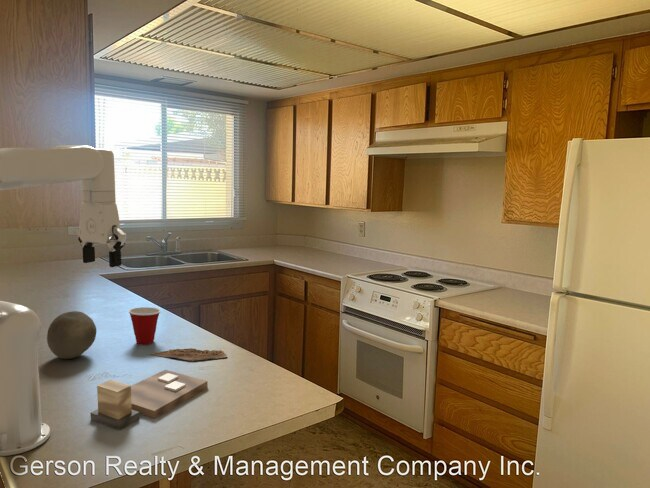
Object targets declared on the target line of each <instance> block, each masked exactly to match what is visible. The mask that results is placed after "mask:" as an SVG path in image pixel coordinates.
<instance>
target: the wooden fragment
mask: <svg viewBox="0 0 650 488" xmlns="http://www.w3.org/2000/svg"><path fill="white" fill-rule="evenodd" d="M150 356H154V357H155V356H157V357H163V358H172V359H178V360H184V361H190V362H195V361H204V360H214V359H223V358H228V356H227V354H226V353H225V351H223V350H221V349H220V350H215V349H214V350H209V349H206V350H205V349H204V350H202V349H197V348H176V349H175V348H174V349H169V350H164V351H160V352H155V353H150Z"/></svg>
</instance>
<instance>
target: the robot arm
mask: <svg viewBox="0 0 650 488" xmlns="http://www.w3.org/2000/svg"><path fill="white" fill-rule="evenodd" d="M115 173H116V171H115V154H114V153H113V150H111V149H110V148H109V149H108V148H98V147H95V148H94V147H92V146H90V145H56V146H53V147H50V148H30V147H29V148H28V147H27V148H26V147H2V148H0V191H6V190H13V189H22V188H23V189H24V188H33V187H39V186H46V185H53V184H54V185H55V184H64V183H71V182H78V181H81V185H82V188H81V189H82V202H81V206H80V211H79V226H78V228H76V230H75V232H76V235H77V237H78V238H77V240H78V242H79V243H80V248H82V263H84V264H87V263H88V264H89V263H94V262H95V261H96V251H95V249H96V247H95V246H93V245H94V244H98V245H100V244H101V245H103V244H106V245H107V247H108V249H109V250H110V251H108V261H109V262H108V263H109V264H108V265H109V268H115V267H116V268H117V267H121V265H122V251H123V250H124V249H123V248H124V246H125V244H126V241H127V238H128V234H127V233H126V232H124V231H123V230H122V229H121V225H120V215H119V210H118V205H117V202H116V201H117V200H116V199H117V198H116V179H115V177H116V174H115ZM41 325H42V324H41V320H40V318H39V316H38V315H37V313H35V311H34V310H33V309H31V308H29V307H27V306H24V305H23V304H19V303H14V302H10V301H3V300H0V457H3V456H4V457H5V456H12V455H13V456H14V455H18V454H23V453H26V452H28V451H31V450H34V449H35V448H37V447H39V446H40V445H42V444H44V443H45V442H46V441H47V440H48V439H49V438H50V437H51V427H50V426H49V425H48V424H47V423H44V422H43V418H42V405H41V390H40V389H41V388H40V375H39V374H40V371H39V341H40V337H41V336H40V335H41V331H42V330H41V327H42V326H41Z"/></svg>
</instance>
